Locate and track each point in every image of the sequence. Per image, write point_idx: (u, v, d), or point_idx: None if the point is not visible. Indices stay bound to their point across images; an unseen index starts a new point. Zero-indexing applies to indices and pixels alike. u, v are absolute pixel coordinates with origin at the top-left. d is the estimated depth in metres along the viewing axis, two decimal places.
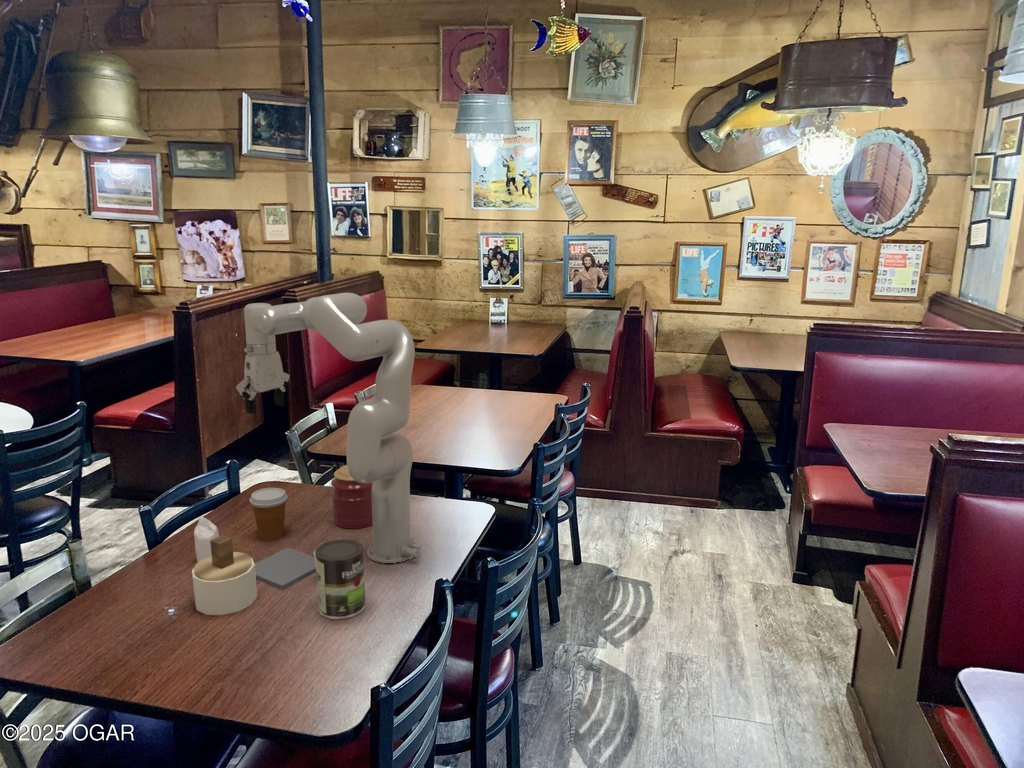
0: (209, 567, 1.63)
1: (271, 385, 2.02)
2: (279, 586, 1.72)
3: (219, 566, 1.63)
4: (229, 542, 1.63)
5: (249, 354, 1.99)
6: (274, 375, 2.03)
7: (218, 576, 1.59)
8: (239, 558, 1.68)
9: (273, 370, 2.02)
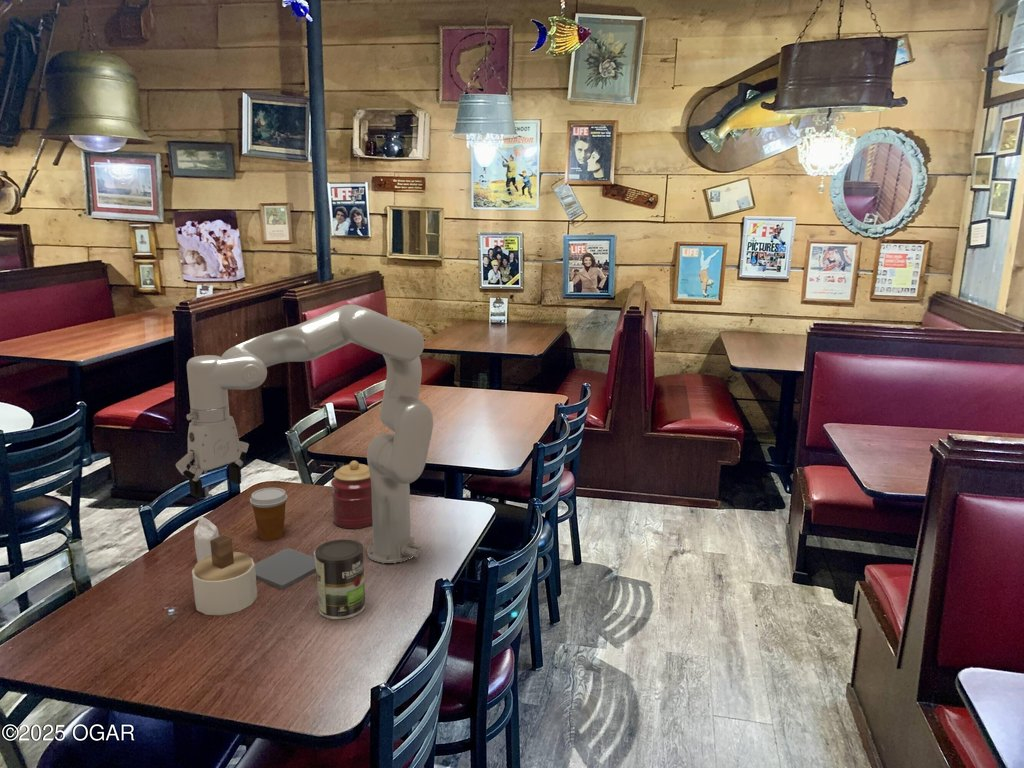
0: (209, 567, 1.63)
1: (223, 460, 1.58)
2: (279, 586, 1.72)
3: (219, 566, 1.63)
4: (229, 542, 1.63)
5: (193, 422, 1.54)
6: (227, 447, 1.58)
7: (218, 576, 1.59)
8: (239, 558, 1.68)
9: (225, 441, 1.58)
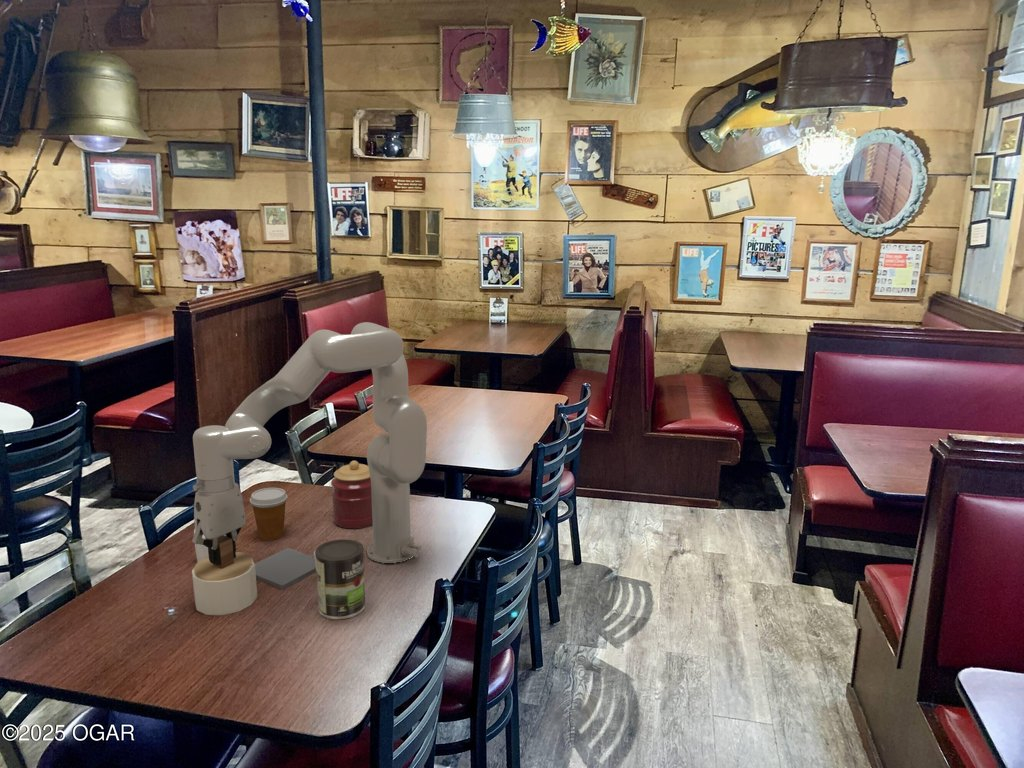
0: (209, 567, 1.63)
1: (228, 527, 1.61)
2: (279, 586, 1.72)
3: (219, 566, 1.63)
4: (229, 542, 1.63)
5: (200, 491, 1.58)
6: (232, 514, 1.62)
7: (218, 576, 1.59)
8: (239, 558, 1.68)
9: (231, 508, 1.61)
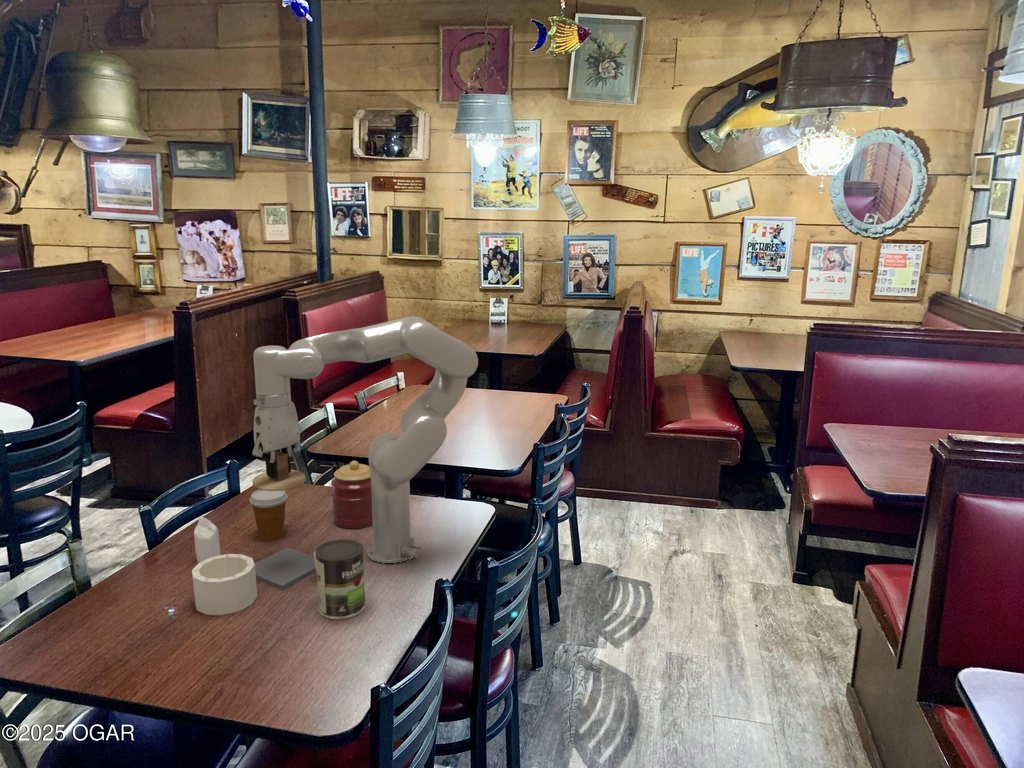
0: (266, 480, 1.74)
1: (285, 442, 1.72)
2: (279, 586, 1.72)
3: (276, 479, 1.73)
4: (285, 457, 1.74)
5: (259, 407, 1.68)
6: (289, 430, 1.72)
7: (276, 487, 1.70)
8: (293, 474, 1.78)
9: (287, 424, 1.72)
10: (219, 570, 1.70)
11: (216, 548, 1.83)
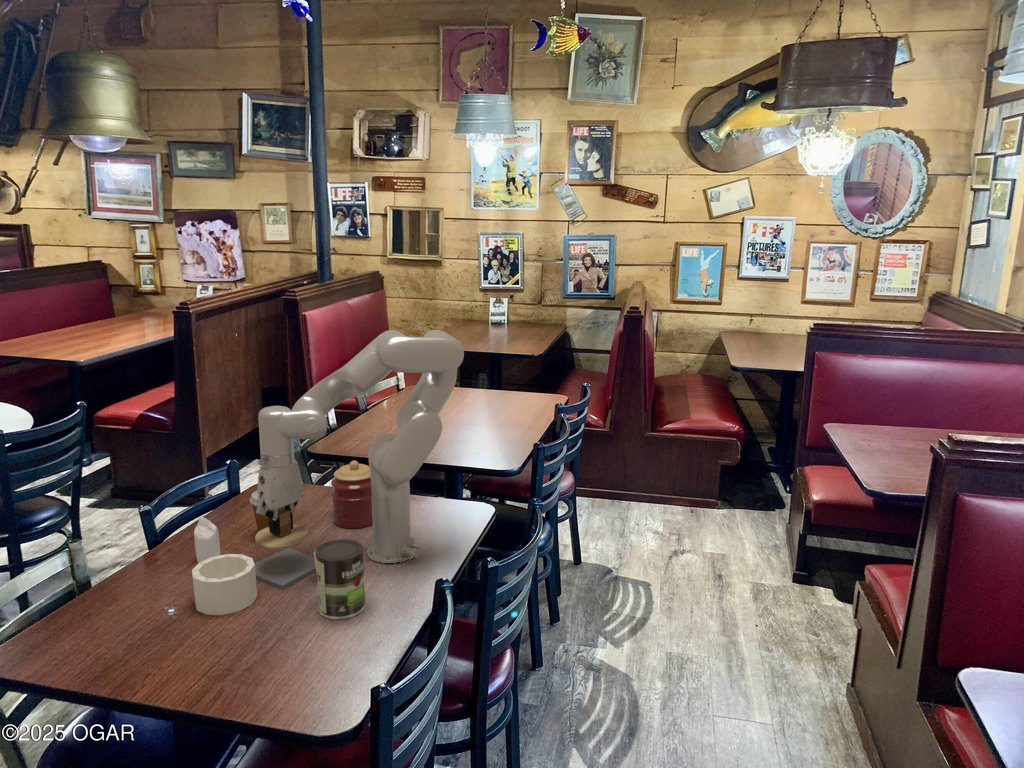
0: (269, 536, 1.77)
1: (288, 500, 1.75)
2: (279, 586, 1.72)
3: (278, 536, 1.77)
4: (288, 514, 1.77)
5: (263, 466, 1.71)
6: (292, 488, 1.75)
7: (278, 544, 1.73)
8: (295, 529, 1.81)
9: (291, 483, 1.75)
10: (219, 570, 1.70)
11: (216, 548, 1.83)
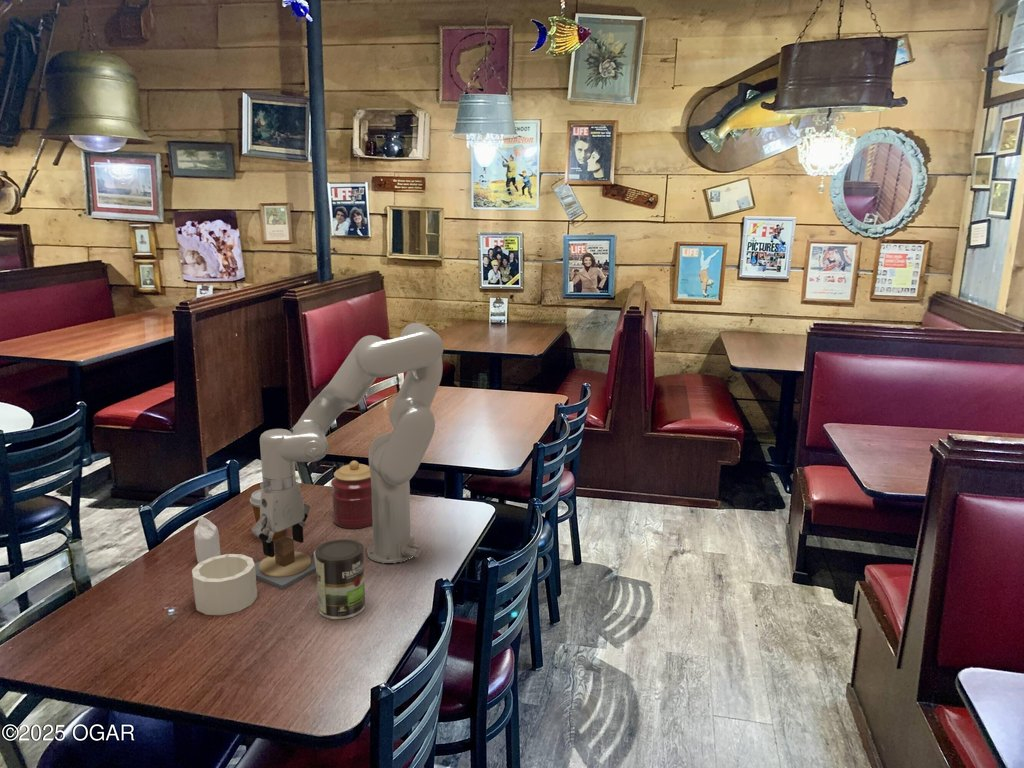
0: (273, 565, 1.79)
1: (290, 522, 1.76)
2: (279, 586, 1.72)
3: (282, 564, 1.79)
4: (291, 542, 1.79)
5: (265, 489, 1.73)
6: (294, 510, 1.77)
7: (282, 573, 1.75)
8: (298, 557, 1.83)
9: (293, 505, 1.76)
10: (219, 570, 1.70)
11: (216, 548, 1.83)
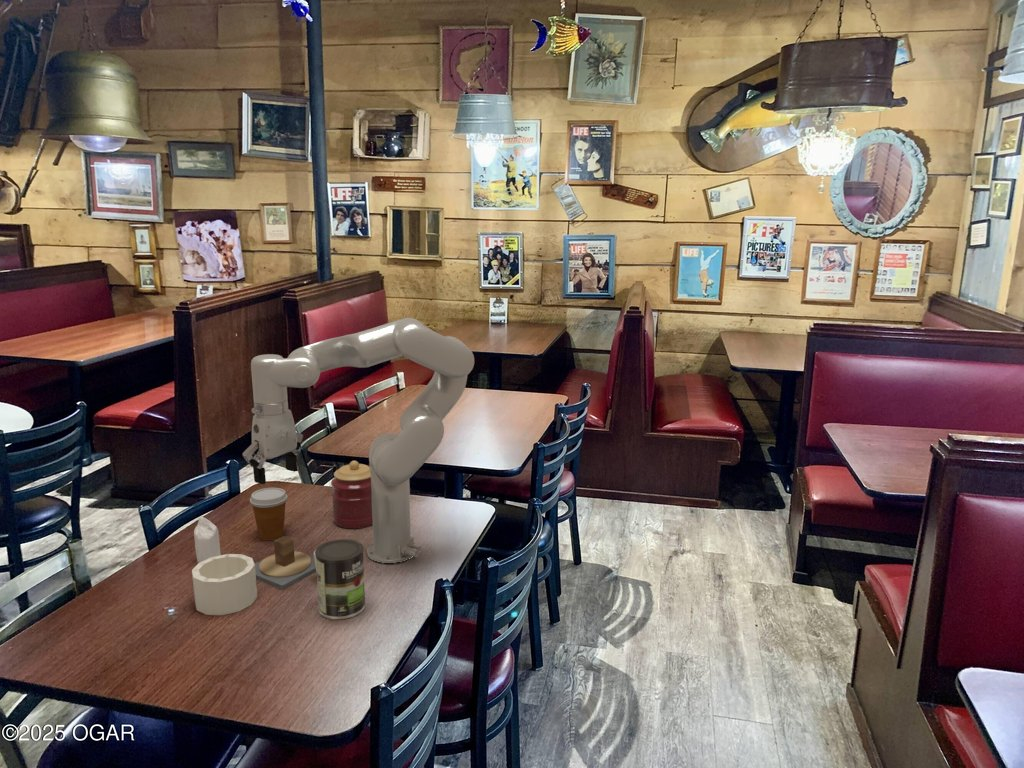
0: (273, 565, 1.79)
1: (283, 449, 1.74)
2: (279, 586, 1.72)
3: (282, 564, 1.79)
4: (291, 542, 1.79)
5: (257, 415, 1.70)
6: (286, 437, 1.74)
7: (282, 573, 1.75)
8: (298, 557, 1.83)
9: (285, 432, 1.74)
10: (219, 570, 1.70)
11: (216, 548, 1.83)
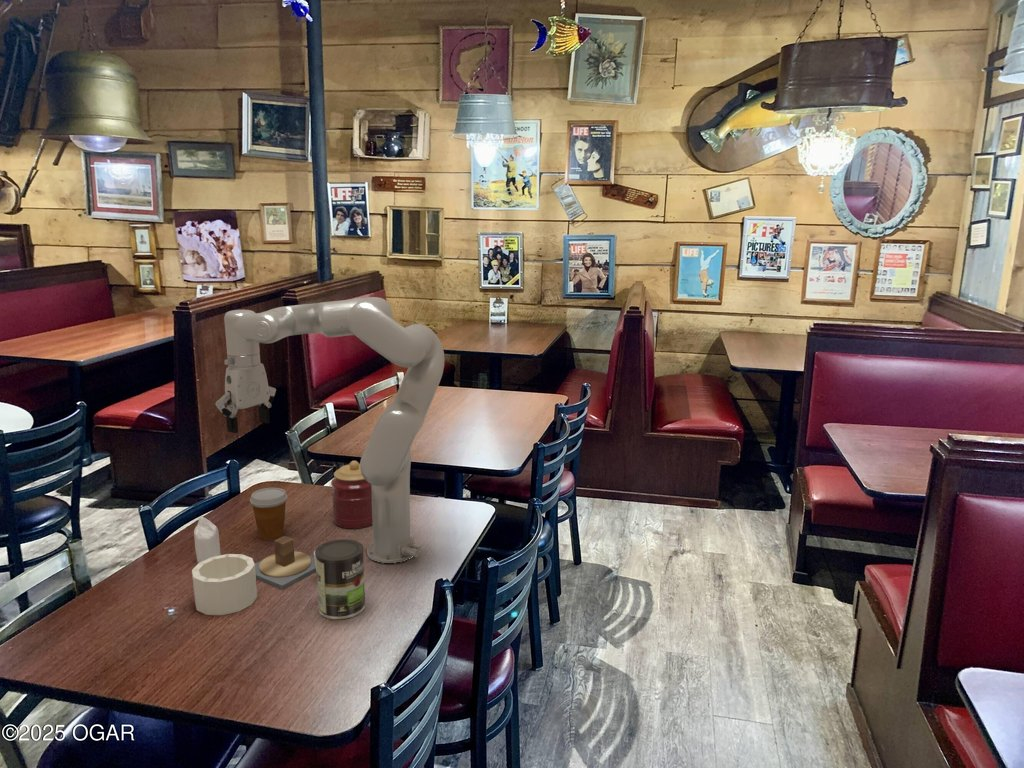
0: (273, 565, 1.79)
1: (255, 401, 1.82)
2: (279, 586, 1.72)
3: (282, 564, 1.79)
4: (291, 542, 1.79)
5: (230, 367, 1.79)
6: (258, 390, 1.83)
7: (282, 573, 1.75)
8: (298, 557, 1.83)
9: (257, 384, 1.82)
10: (219, 570, 1.70)
11: (216, 548, 1.83)
